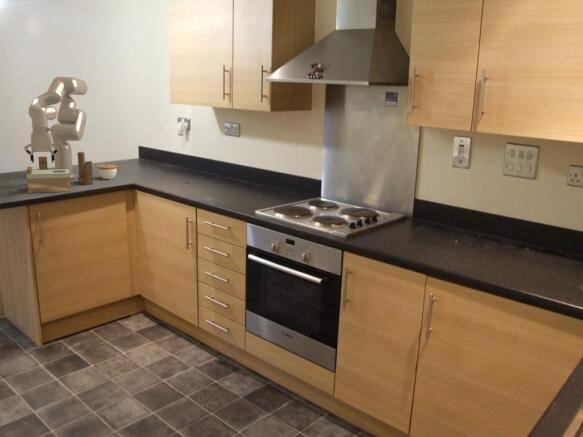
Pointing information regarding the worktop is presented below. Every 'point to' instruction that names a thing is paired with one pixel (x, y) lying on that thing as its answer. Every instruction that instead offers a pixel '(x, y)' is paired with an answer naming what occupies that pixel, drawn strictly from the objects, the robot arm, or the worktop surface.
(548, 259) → the worktop surface
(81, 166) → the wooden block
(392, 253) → the worktop surface
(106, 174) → the lidded jar
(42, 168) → the key peg
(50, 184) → the base
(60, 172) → the toolbox lid
